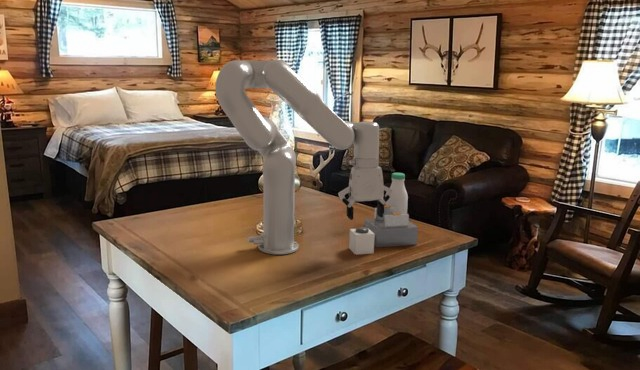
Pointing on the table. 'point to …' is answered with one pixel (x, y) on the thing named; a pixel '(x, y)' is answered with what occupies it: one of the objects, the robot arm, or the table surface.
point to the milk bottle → (398, 193)
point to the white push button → (361, 241)
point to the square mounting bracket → (392, 228)
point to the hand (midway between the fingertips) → (365, 217)
